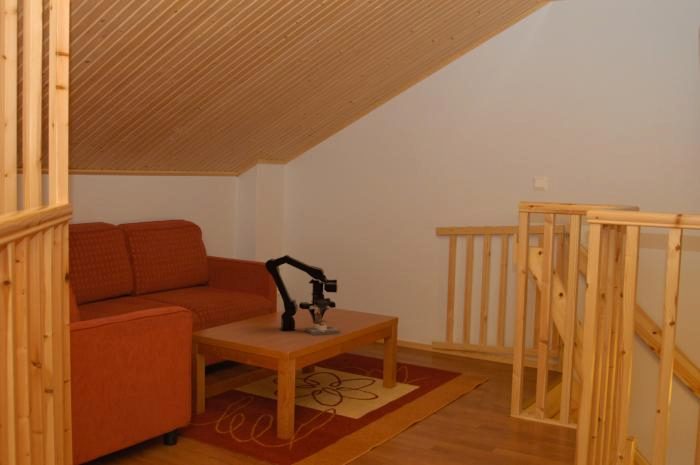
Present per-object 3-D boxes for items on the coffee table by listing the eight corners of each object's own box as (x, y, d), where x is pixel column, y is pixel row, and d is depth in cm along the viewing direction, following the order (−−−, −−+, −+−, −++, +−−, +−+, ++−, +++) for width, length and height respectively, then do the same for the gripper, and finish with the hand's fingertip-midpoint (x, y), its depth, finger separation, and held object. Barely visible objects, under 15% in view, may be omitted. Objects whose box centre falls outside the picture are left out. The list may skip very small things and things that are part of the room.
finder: (319, 330, 407) (319, 325, 406) (316, 328, 411) (316, 323, 411) (326, 330, 408) (326, 324, 408) (323, 328, 413) (323, 323, 412)
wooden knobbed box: (315, 324, 413) (315, 312, 412) (312, 322, 416) (312, 311, 415) (321, 323, 414) (321, 312, 413) (319, 322, 417) (319, 311, 417)
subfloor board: (313, 335, 404) (313, 331, 404) (304, 330, 415) (304, 327, 415) (339, 333, 410) (339, 330, 410) (331, 328, 421) (331, 325, 421)
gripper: (306, 295, 402) (306, 325, 404) (340, 293, 410) (339, 322, 411) (299, 291, 412) (298, 320, 414) (331, 290, 420) (331, 318, 421)
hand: (317, 321), depth 415 cm, fingers closed on wooden knobbed box, 4 cm apart
